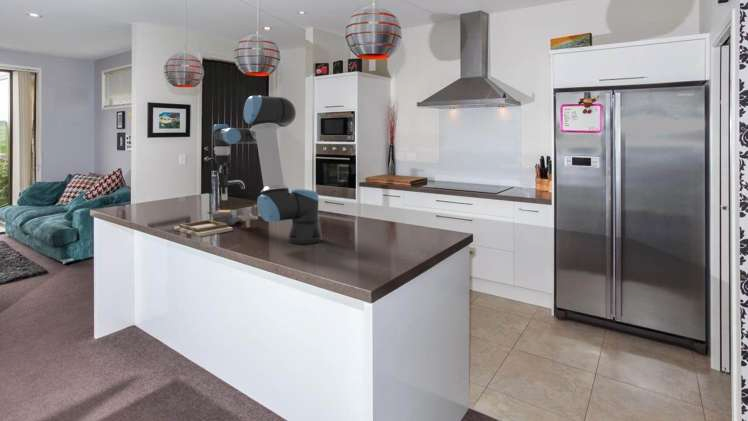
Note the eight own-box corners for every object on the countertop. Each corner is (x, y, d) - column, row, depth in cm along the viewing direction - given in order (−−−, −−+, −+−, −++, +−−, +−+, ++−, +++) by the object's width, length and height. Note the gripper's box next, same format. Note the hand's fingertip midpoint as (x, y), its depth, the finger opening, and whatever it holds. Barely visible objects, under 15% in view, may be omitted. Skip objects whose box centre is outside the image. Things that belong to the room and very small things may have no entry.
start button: (229, 217, 233) (229, 211, 233) (217, 217, 233) (217, 211, 232) (232, 215, 239) (231, 210, 239) (220, 215, 239) (220, 209, 238)
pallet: (232, 230, 219) (232, 224, 218) (199, 236, 205) (198, 230, 204) (207, 224, 232) (207, 218, 231) (174, 229, 218) (174, 223, 217)
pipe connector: (261, 225, 231) (260, 206, 230) (253, 229, 221) (253, 209, 220) (242, 224, 232) (241, 205, 231) (234, 228, 222) (233, 209, 221)
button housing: (233, 224, 232) (233, 213, 231) (211, 224, 231) (211, 213, 230) (238, 220, 242) (237, 210, 241) (217, 220, 241) (216, 209, 240)
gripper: (218, 154, 236) (220, 198, 240) (211, 155, 224) (213, 201, 227) (232, 154, 237) (234, 198, 241) (226, 155, 224) (228, 201, 228)
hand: (224, 199), depth 234 cm, fingers closed
